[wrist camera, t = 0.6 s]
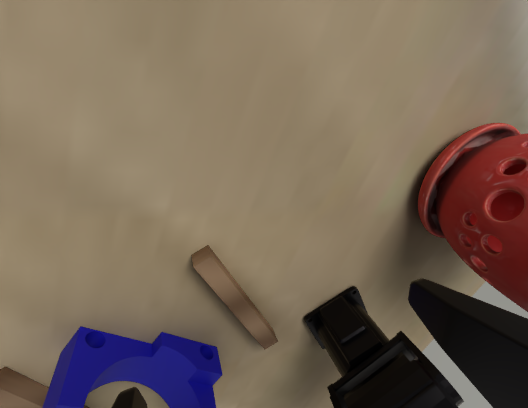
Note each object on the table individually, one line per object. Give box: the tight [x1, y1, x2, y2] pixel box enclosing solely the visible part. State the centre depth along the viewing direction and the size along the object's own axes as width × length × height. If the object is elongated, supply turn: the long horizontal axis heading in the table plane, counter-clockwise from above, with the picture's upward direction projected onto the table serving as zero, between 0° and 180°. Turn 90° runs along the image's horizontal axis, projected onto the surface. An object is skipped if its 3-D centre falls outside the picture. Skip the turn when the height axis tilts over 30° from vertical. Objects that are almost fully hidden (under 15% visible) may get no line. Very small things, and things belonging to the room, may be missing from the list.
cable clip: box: [42, 327, 222, 408], centre depth 22 cm, size 12×4×6 cm, turn 49°
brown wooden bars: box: [0, 246, 278, 408], centre depth 24 cm, size 13×19×2 cm
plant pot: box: [418, 123, 528, 312], centre depth 23 cm, size 13×13×12 cm
